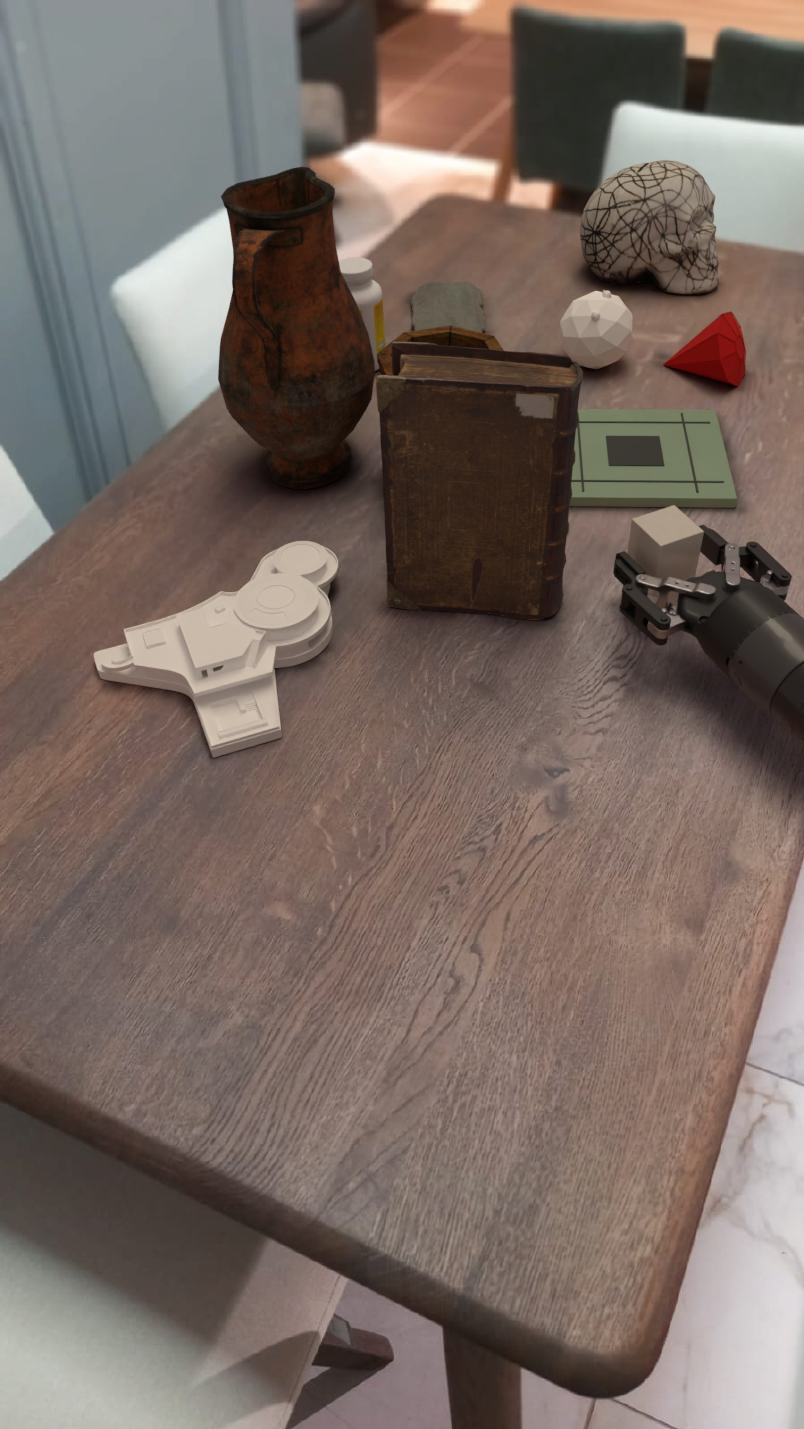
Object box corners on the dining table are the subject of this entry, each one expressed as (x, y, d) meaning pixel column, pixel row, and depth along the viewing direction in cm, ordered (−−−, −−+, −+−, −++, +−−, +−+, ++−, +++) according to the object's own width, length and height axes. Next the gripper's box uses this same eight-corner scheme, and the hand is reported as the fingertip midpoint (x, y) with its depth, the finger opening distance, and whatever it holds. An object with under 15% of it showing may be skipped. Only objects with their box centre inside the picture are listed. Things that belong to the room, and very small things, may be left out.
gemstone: (642, 375, 133) (722, 357, 127) (652, 315, 136) (730, 294, 130) (672, 415, 140) (749, 399, 134) (681, 356, 142) (756, 338, 136)
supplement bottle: (373, 347, 144) (368, 249, 135) (394, 369, 140) (390, 269, 131) (326, 359, 142) (317, 260, 133) (346, 381, 138) (338, 281, 129)
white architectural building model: (84, 620, 107) (72, 584, 104) (327, 557, 113) (323, 521, 110) (127, 782, 92) (115, 746, 89) (405, 701, 98) (403, 664, 94)
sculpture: (666, 317, 147) (683, 201, 136) (555, 273, 157) (562, 162, 147) (735, 280, 153) (755, 167, 143) (623, 241, 164) (635, 133, 153)
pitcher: (395, 428, 130) (382, 159, 108) (352, 535, 115) (327, 250, 94) (261, 418, 132) (222, 154, 111) (202, 521, 118) (145, 240, 97)
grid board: (713, 418, 129) (715, 408, 128) (735, 508, 116) (737, 497, 115) (542, 417, 130) (542, 407, 129) (545, 506, 118) (545, 495, 117)
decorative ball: (641, 402, 136) (619, 325, 127) (564, 399, 142) (538, 325, 133) (665, 351, 140) (645, 273, 130) (589, 351, 145) (565, 275, 136)
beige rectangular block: (660, 590, 107) (674, 504, 100) (687, 617, 104) (704, 531, 97) (619, 604, 106) (631, 518, 99) (646, 632, 103) (660, 545, 96)
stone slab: (479, 299, 155) (409, 293, 154) (482, 280, 153) (411, 274, 152) (489, 380, 139) (411, 374, 139) (493, 360, 137) (414, 354, 137)
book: (567, 591, 107) (588, 353, 90) (553, 638, 103) (573, 397, 85) (404, 566, 111) (393, 333, 93) (383, 610, 107) (368, 373, 89)
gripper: (850, 591, 89) (728, 490, 100) (705, 645, 86) (594, 535, 96) (828, 659, 95) (715, 556, 105) (691, 712, 91) (587, 601, 101)
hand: (657, 546), depth 101 cm, fingers open, 8 cm apart
